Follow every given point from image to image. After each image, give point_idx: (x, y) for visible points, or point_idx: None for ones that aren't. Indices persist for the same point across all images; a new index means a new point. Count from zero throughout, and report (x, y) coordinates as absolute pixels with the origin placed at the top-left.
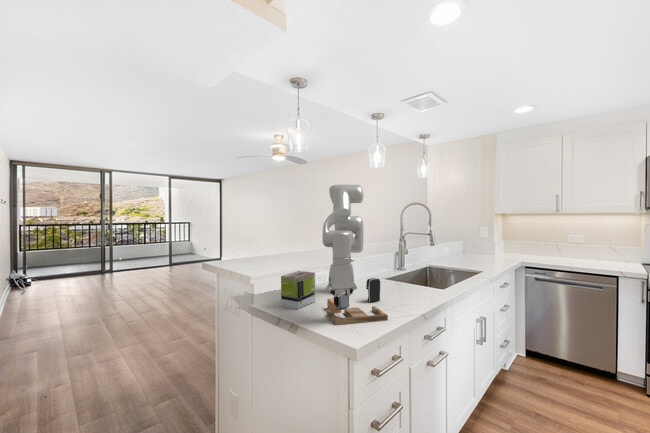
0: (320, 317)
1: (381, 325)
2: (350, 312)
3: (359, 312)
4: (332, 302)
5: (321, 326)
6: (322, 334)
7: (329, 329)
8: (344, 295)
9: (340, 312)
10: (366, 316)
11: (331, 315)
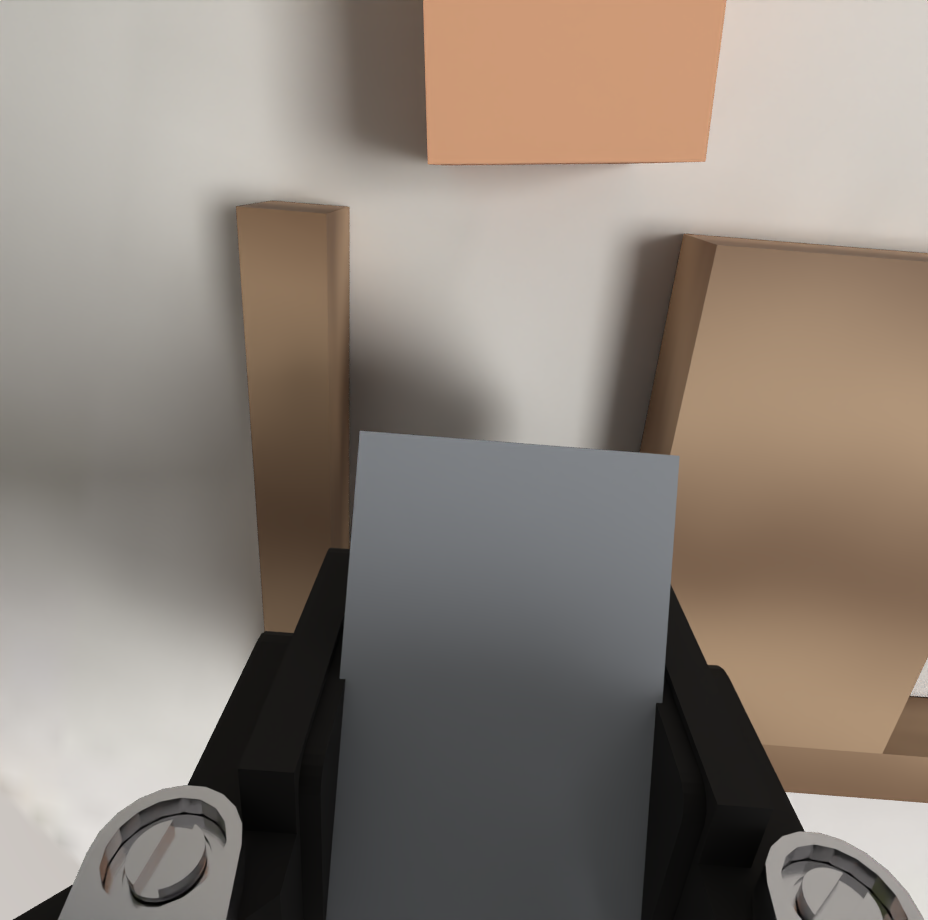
0: (112, 322)
1: (870, 853)
2: (691, 537)
3: (859, 587)
4: (427, 5)
5: (91, 675)
6: (81, 852)
7: (184, 776)
8: (675, 822)
9: (618, 163)
10: (826, 773)
11: (261, 563)
